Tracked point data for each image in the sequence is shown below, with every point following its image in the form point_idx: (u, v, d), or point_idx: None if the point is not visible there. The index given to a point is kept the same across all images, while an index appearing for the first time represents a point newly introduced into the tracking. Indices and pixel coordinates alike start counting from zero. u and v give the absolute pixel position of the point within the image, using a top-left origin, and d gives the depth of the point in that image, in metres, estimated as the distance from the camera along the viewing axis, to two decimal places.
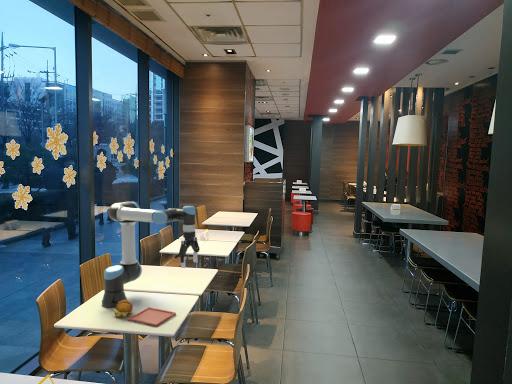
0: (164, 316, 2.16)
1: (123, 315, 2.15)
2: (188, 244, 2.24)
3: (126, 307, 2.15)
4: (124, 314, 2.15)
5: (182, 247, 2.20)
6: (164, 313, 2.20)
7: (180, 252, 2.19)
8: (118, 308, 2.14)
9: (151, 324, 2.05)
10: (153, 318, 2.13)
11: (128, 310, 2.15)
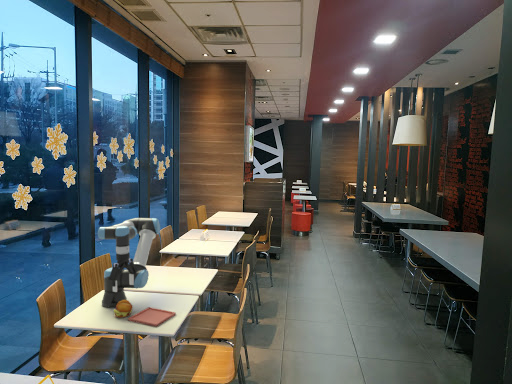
0: (164, 316, 2.16)
1: (123, 315, 2.15)
2: (121, 267, 2.14)
3: (126, 307, 2.15)
4: (124, 314, 2.15)
5: (113, 270, 2.10)
6: (164, 313, 2.20)
7: (111, 276, 2.09)
8: (118, 308, 2.15)
9: (151, 324, 2.05)
10: (153, 318, 2.13)
11: (128, 310, 2.15)
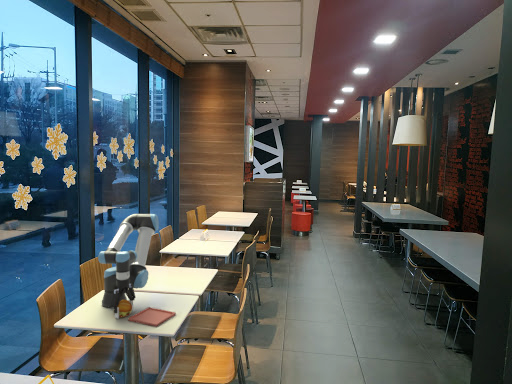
0: (164, 316, 2.16)
1: (123, 315, 2.15)
2: (121, 293, 2.15)
3: (126, 307, 2.15)
4: (124, 314, 2.15)
5: (114, 297, 2.11)
6: (164, 313, 2.20)
7: (112, 303, 2.11)
8: None
9: (151, 324, 2.05)
10: (153, 318, 2.13)
11: (128, 310, 2.15)
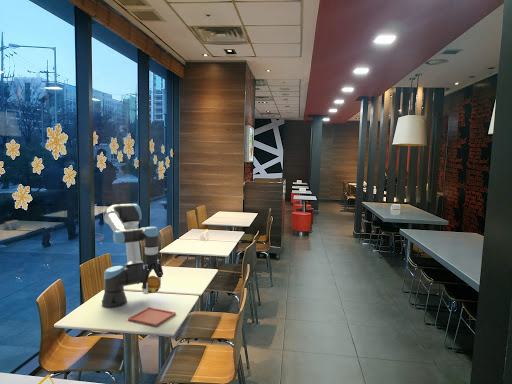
0: (164, 316, 2.16)
1: (151, 291, 2.10)
2: (150, 268, 2.10)
3: (155, 282, 2.10)
4: (153, 290, 2.10)
5: (143, 272, 2.07)
6: (164, 313, 2.20)
7: (141, 278, 2.06)
8: None
9: (151, 324, 2.05)
10: (153, 318, 2.13)
11: (157, 286, 2.10)
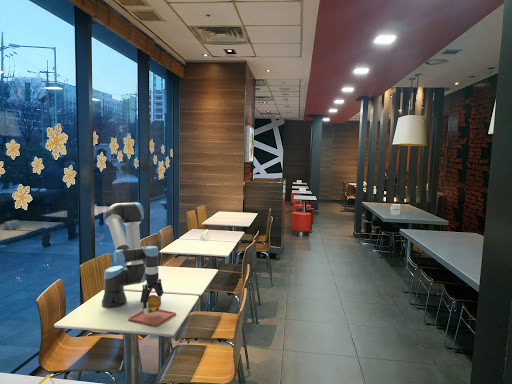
0: (164, 316, 2.16)
1: (152, 310, 2.11)
2: (150, 288, 2.11)
3: (155, 302, 2.11)
4: (153, 309, 2.11)
5: (144, 292, 2.08)
6: (164, 313, 2.20)
7: (142, 298, 2.07)
8: None
9: (151, 324, 2.05)
10: (153, 318, 2.13)
11: (157, 305, 2.11)
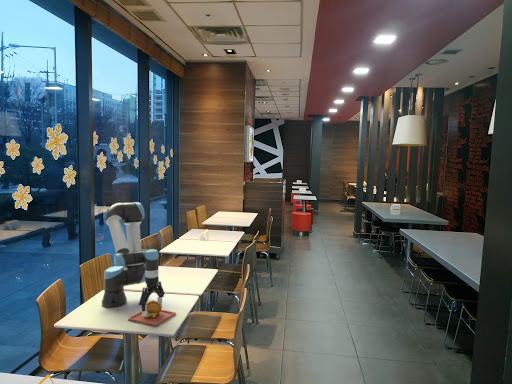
0: (164, 316, 2.16)
1: (152, 316, 2.12)
2: (150, 291, 2.11)
3: (155, 308, 2.11)
4: (153, 315, 2.12)
5: (143, 295, 2.07)
6: (164, 313, 2.20)
7: (141, 300, 2.06)
8: (147, 309, 2.11)
9: (151, 324, 2.05)
10: (153, 318, 2.13)
11: (157, 311, 2.12)
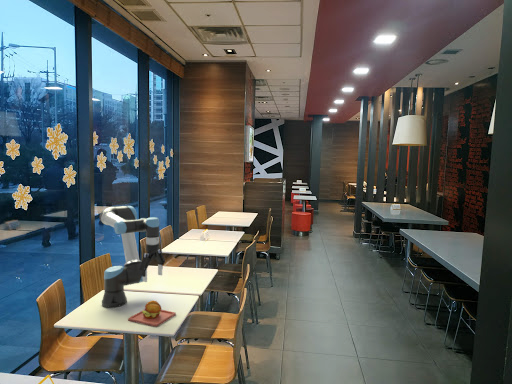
0: (164, 316, 2.16)
1: (152, 316, 2.12)
2: (151, 257, 2.16)
3: (155, 308, 2.11)
4: (153, 315, 2.12)
5: (144, 261, 2.13)
6: (164, 313, 2.20)
7: (141, 266, 2.12)
8: (147, 309, 2.11)
9: (151, 324, 2.05)
10: (153, 318, 2.13)
11: (157, 311, 2.12)
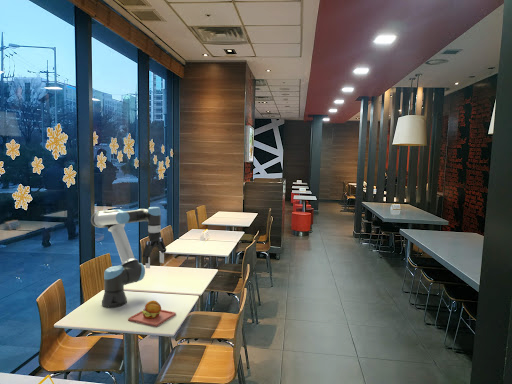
0: (164, 316, 2.16)
1: (152, 316, 2.12)
2: (153, 245, 2.26)
3: (155, 308, 2.12)
4: (153, 315, 2.12)
5: (146, 248, 2.22)
6: (164, 313, 2.20)
7: (144, 253, 2.21)
8: (147, 309, 2.11)
9: (151, 324, 2.05)
10: (153, 318, 2.13)
11: (157, 311, 2.12)
